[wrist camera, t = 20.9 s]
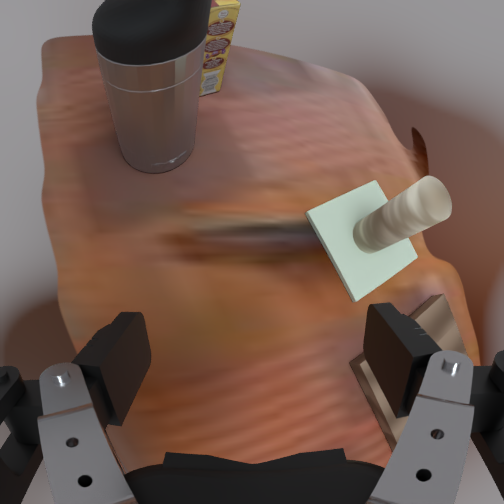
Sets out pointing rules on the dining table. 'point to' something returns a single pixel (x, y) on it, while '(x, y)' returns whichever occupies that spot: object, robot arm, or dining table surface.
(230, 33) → the candy box
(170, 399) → the dining table surface
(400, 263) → the sage pad
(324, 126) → the dining table surface
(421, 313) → the board
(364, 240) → the maple peg
